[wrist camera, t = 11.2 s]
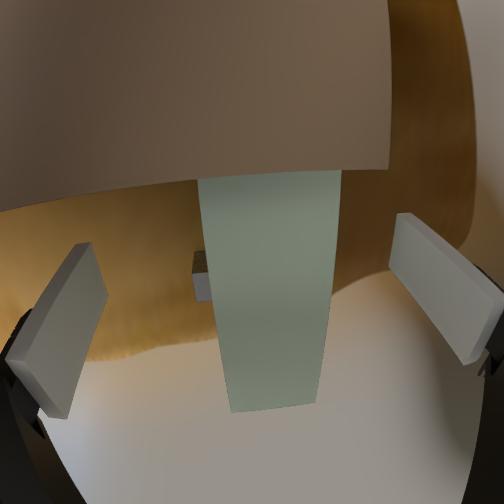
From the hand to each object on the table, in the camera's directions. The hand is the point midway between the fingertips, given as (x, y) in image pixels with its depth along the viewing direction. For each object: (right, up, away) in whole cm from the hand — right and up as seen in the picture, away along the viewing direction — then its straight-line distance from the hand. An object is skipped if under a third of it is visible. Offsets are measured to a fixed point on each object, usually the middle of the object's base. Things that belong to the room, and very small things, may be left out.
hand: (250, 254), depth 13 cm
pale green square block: (0, +3, +5) cm, 6 cm away
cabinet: (-11, +11, 0) cm, 15 cm away
